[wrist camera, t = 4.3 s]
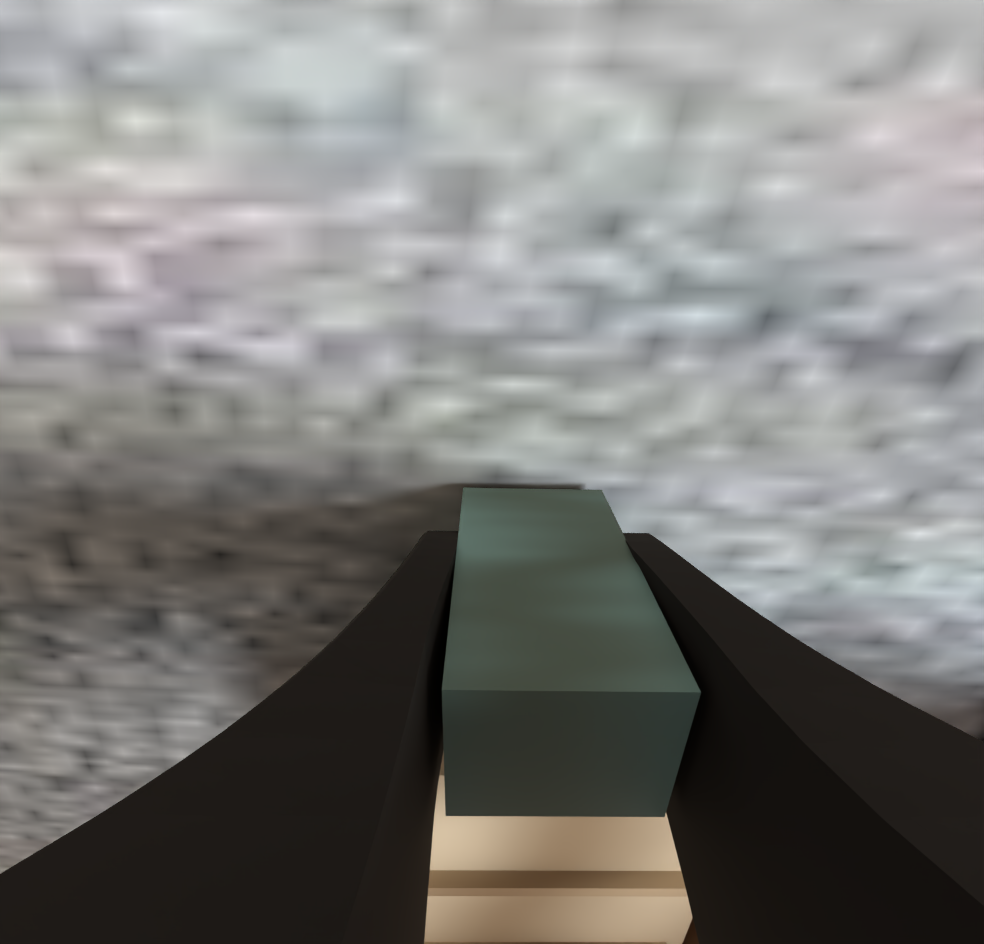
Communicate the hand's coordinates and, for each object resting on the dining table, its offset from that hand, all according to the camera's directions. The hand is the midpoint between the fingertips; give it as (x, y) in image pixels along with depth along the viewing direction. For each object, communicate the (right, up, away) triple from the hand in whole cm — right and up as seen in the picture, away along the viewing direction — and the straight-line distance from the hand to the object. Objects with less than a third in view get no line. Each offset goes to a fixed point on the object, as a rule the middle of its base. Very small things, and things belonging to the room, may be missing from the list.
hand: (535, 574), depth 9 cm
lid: (0, -6, +4) cm, 7 cm away
